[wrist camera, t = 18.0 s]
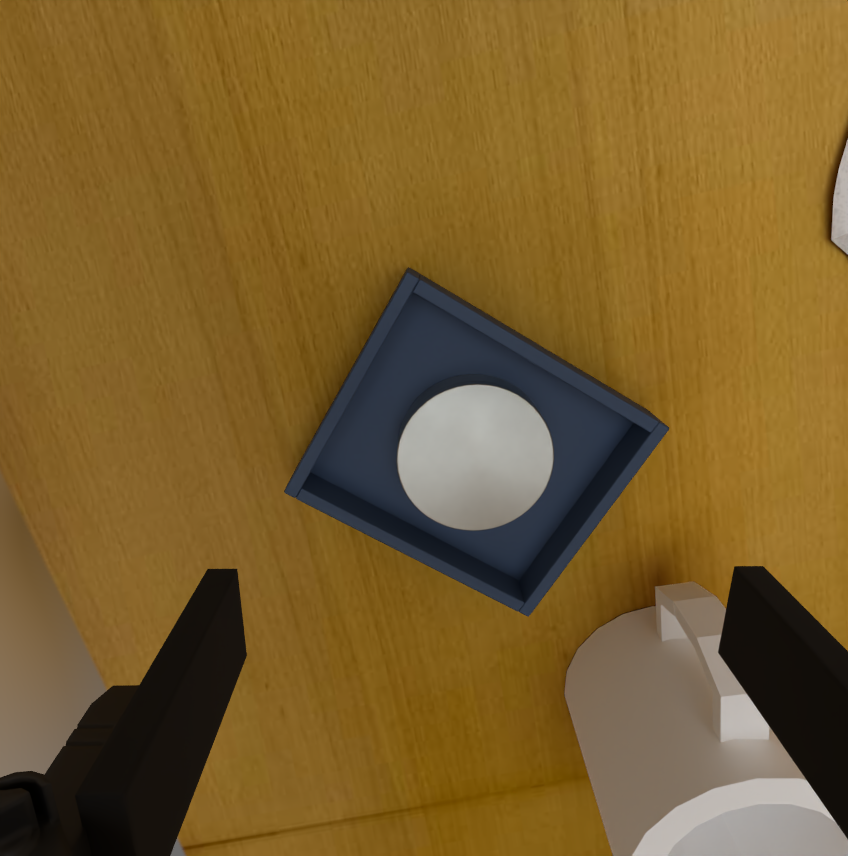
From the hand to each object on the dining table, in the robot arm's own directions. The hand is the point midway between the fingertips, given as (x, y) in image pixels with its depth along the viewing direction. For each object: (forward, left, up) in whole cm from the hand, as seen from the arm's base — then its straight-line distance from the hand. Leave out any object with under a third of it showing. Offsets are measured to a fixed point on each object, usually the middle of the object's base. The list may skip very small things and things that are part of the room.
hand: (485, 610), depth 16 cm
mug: (+17, -6, -14) cm, 23 cm away
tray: (+1, 0, -14) cm, 14 cm away
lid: (+1, 0, -12) cm, 12 cm away
